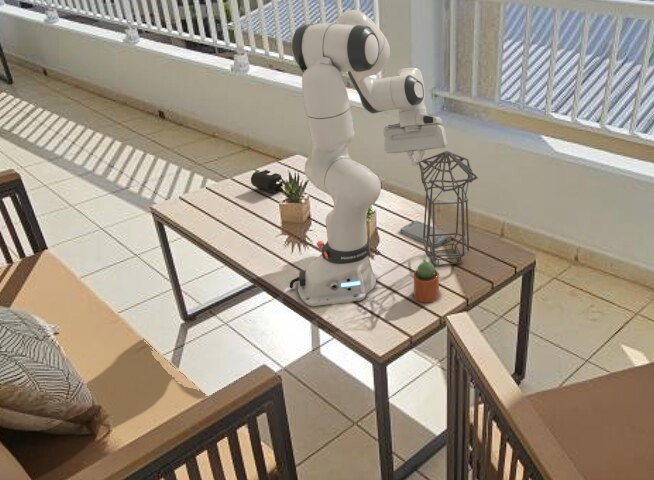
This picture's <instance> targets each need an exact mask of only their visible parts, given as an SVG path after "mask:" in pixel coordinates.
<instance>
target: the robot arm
mask: <svg viewBox="0 0 654 480" xmlns="http://www.w3.org/2000/svg"><path fill="white" fill-rule="evenodd" d="M291 52H292V54H293V58H294V60H295V62H296V64H297V65H298V67H299V69H300V71H301V72H302V77H301V91H302V100H303V101H302V102H303V108H304V112H305V116H306V121H307V127H308V130H309V135H310V140H311V153H310V155H309V156H307V159H306V161H305V163H304V174H305V176H306V178H307V179H308V181H309V182H310V183H311V184H312V185H313V186H314V187H315V188H316V189H317V190H320V192H323V193H325V194H327V195H329V196H330V197H331V199H332V201H333V202H332V203H333V208H332V210H330V211H329V212H328V214H327V215H326V217H325V228H326V238H327V241H326V242H324V241H323V240H318V241H317V242H316V246H317V248H318V250H320V251H321V254H320V255H319V256H318V257H317V258H316V259H314V260H313V261H312V262H311V263H310V264H308V265H307V266H306V268H305V270H300V271H298V277H295V278H293V279H292V280H290V282H289V288H290V289H293V288H294V284H295V283H296V282H298V284H297V291H298V295H299V297H300V299H301V300H302V302H303V303H304V304H306V305H308V306H309V307H319V306H326V305H335V304H342V303H343V304H344V303H352V302H360V301H364V299H365V298H366V296H367V294H368V293H370V292H372V290H373V289H374V288H375V286H376V285H377V278H376V276H375V274H374V272H373V269H372V264H371V259H370V257H371V245H370V244H371V243H370V239H369V238H368V232H367V231H368V228H367V216H368V211H369V208H370V207H372V206H373V205H374V204H375V203H376V202H377V201H378V200H379V197H380V195H381V191H382V182H381V179H380V178H379V177H378V176H377V175H376V174H375V173H374V171H372V170H371V169H370V168H369V167H367V166H366V165H363V164H361V163H359V162H357V161H355V160H353V159H352V158H351V157H350V155H349V145H350V144H351V143H352V141H353V140H354V138H355V136H356V135H355V134H356V132H355V125H354V120H353V114H352V110H351V102H350V98H349V95H348V91H347V87H346V84H345V82H344V79H343V73H347V74H348V77H349V79H350V81H351V83H352V85H353V86H354V88H355V90H356V93H357V94H358V96H359V99H360V103H361V105H362V107H363V108H364V109H365V110H366V111H367V112H369V113H370V114H377V113H382V112H387V111H392V110H398V118H399V119H398V121H399V122H398V123H396V122H395V123H392V124H391V123H390V124H387V125H385V126H384V128H383V137H384V142H383V143H384V145H383V146H384V152H385V153H386V154H389V155H390V154H391V155H392V154H400V153H407V156H408V158H409V159H410V160H411V166H412V167H414V166H415V167H416V166H419V163H418V162H420V161H422V160H424V159H423V158H424V157H425V153H426V152H425V151H427V150H429V151H430V150H438V149H445V148H446V147H447V146H448V138H447V133H446V129H445V127H444V126H443V125H442V124H443V119H442V118H441V117H439V116H435V115H433V114H428V112H427V111H428V110H427V107H426V89H425V82H424V78H423V73H422V71H421V70H420V68H417V67H412V66H407V67H402V68H400V69H399V70H397V74H396V75H395V76H394V75H393V76H388V77H382V78H370V77H371V76H374V75H377V74H379V73H380V72H382V70H383V69H385V67H386V66H387V64H388V63H389V60H390V57H391V47H390V44H389V41H388V39H387V37H386V36H385V35H384V33H383V32H382V30H381V29H380V28H379V27H378V25H377V24H376V23H375V22H374V20H372V19H371V18H370V17H369V16H368V15H366V14H365V13H364V12H362V11H360V10H357V9H349V10H347V11H345V12H343V13H342V14H341V15H339V17H338V18H337V19H336V22H327V23H326V22H324V23H307V24H303V25H300V26H299V27H297V28H296V29H295V32H294V33H293V36H292V38H291ZM417 151H418V154H419V156H418V159H415V157H414V154H415V152H417ZM417 163H418V164H417ZM421 164H422V165H423V162H421Z"/></svg>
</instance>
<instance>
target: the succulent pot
mask: <svg viewBox="0 0 654 480" xmlns="http://www.w3.org/2000/svg"><path fill="white" fill-rule="evenodd" d="M413 297H414V298H415V300H416V301H418V302H421V303H433V302H436V301H437V300H438V298H439V297H440V273H439V272H438V270H436V269H435V265H434V263H433V262H429V261H423V262H421V263H420V264H419V265H418V267H417V270H415V271H414V272H413Z"/></svg>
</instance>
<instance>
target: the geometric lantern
mask: <svg viewBox="0 0 654 480" xmlns="http://www.w3.org/2000/svg"><path fill="white" fill-rule="evenodd" d="M431 159H432V160H431ZM451 159H452V160H451ZM463 161H466V163H464V162H463ZM421 162H422V164H421ZM418 163H419V165H418V166H419V170H420V177H421V178H420V179H421V183H422V185H423V188H424V192H425V202H424V217H423V218H424V219H423V223H424V232H423V241H424V243H423V247H424V252H425V255H426V256H427V257H430V258H431V260H432V264H433V266H434V267H443V266H450V265H457V264H460V263H461V262H462V258H463V257H465V256H466V255H468V253H469V252H470V235H469V234H470V233H469V210H468V209H469V204H468V203H469V199H468V196H467V193H468V188H469V183H473V181H476V180H478V179H479V177H478V176H477V175H476V174H475V173H474V172H473V169H472V167H471V163H470V160H469V158H467V157H464V156H461V155H458V154H455V153H454V152H451V151H449V150H444V151H442V152H439V153H438V154H436V155H435V154H434V155H433V156H430V157H427V158H424V159H422V161H420V162H418ZM418 163H417V164H418ZM452 163H455V164H454V165H453V166H452ZM423 164H425V165H426V166H425V167H424V166H423ZM442 164H443V167H442ZM446 164H447V167H448V169H446ZM451 166H452V167H451ZM457 166H458V167H460V169H461V170H462V171H463V172H464V173H465V174H466V175H467V178H463V179H457V180H456V179H455V178H454V175H453V172H452V171H453V170H454V169H455V168H457ZM430 169H431V170H430ZM429 170H430V171H429ZM434 170H435V171H434ZM428 171H429V172H428ZM433 171H434V173H433ZM440 172H441V174H442V175H441V179H437V178H438V177H439V174H440ZM426 173H427V175H426V176H425V174H426ZM445 173H449V175H450V179H451V180H446V179H445V180H444V178H445ZM431 174H432V176H431V178H430V179H429V180H428V178H429V177H430V175H431ZM435 174H436V175H435ZM433 178H434V179H433ZM426 180H428V181H426ZM461 182H462V183H461ZM437 183H441V185H438V184H437ZM444 183H448V184H449V183H451V185H444ZM459 183H460V184H459ZM429 184H431V185H430V186H429V187H428V185H429ZM465 186H466V189H465ZM445 188H447V189H445ZM433 189H439V190H440V192H439V193H438V194H437V195H436V196H435V198H434V199H433ZM429 190H430V195H429ZM460 190H461V196H460ZM451 191H453V192H454V193H455V195H456V197H457V199H456V201H455V202H452V201H451V202H435V201H436V200H437V198H438V197H439V196H440V195H441V194H442V193H445V192H451ZM452 204H454V205H455V204H456V219H455V220H456V223H455V232H449V233H448V232H446V233H447V234H435V228H436V225H435V224H436V221H435V220H436V219H435V215H436V214H435V212H436V211H435V209H436V208H435V206H436V205H452ZM459 207H460V208H459ZM427 211H428V212H427ZM459 211H460V213H461V233H459V231H458V230H459V214H460V213H459ZM431 218H432V219H431ZM465 219H466V220H465ZM431 220H432V227H433V234H432V235H430V226H431ZM465 221H466V223H465ZM426 224H427V236H425V228H426ZM465 224H466V225H465ZM465 228H466V229H465ZM442 235H451V236H454V239H453V241H452V243H446V244H445V243H444V244H442V245H437V246H435V236H442ZM457 235H458V236H460V237H461V238H460V239H459V240H458V241H457V242H456V238H457ZM429 236H433V245H432V243H431V240H430V238H429ZM425 238H427V240H425ZM428 238H429V241H430V243H431V246H430V245H429V244H428ZM425 242H426V243H425ZM455 242H456V243H455ZM460 242H461V244H462V245H461V246H462V253H460V250H459V248H458V246H457V245H459V243H460ZM447 246H451V248H446V249H438V250H436V248H435V247H437V248H439V247H447ZM465 247H466V250H465ZM445 251H455V253H454V254H452V253H451V254H436V253H438V252H439V253H440V252H445ZM428 252H429V253H428ZM441 257H443V258H441ZM454 259H457V262H449V263H442V264H440V261H443V260H444V261H445V260H454Z"/></svg>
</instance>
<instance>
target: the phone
mask: <svg viewBox="0 0 654 480" xmlns="http://www.w3.org/2000/svg"><path fill="white" fill-rule="evenodd" d="M427 224H428V223H426V228H425V236H427ZM423 232H424V222H421V221H420V220H414V221H412V222H410V223H408V224H406V225H405V226H402V227H401V228H400V233H401V234H403V235H405V236H408V237H410V238H412V239H414V240H417V241H419V242H421V243H422V244H424V241H423ZM447 233H448V232H446V231H443V230H440V229H438V228H436V227H435V234H447ZM432 234H433V226H432V225H430V235H432ZM429 238H430V240H431V243H432V245H433V236H429ZM429 238H428V244H429V245H430V246H431V243H430V241H429ZM451 239H452V235H442V236H435V246H437V245H445V243H447V242H448V241H450V240H451ZM425 240H427V238H425ZM425 243H426V242H425ZM431 247H432V246H431ZM436 248H438V247H435V249H436Z"/></svg>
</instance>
